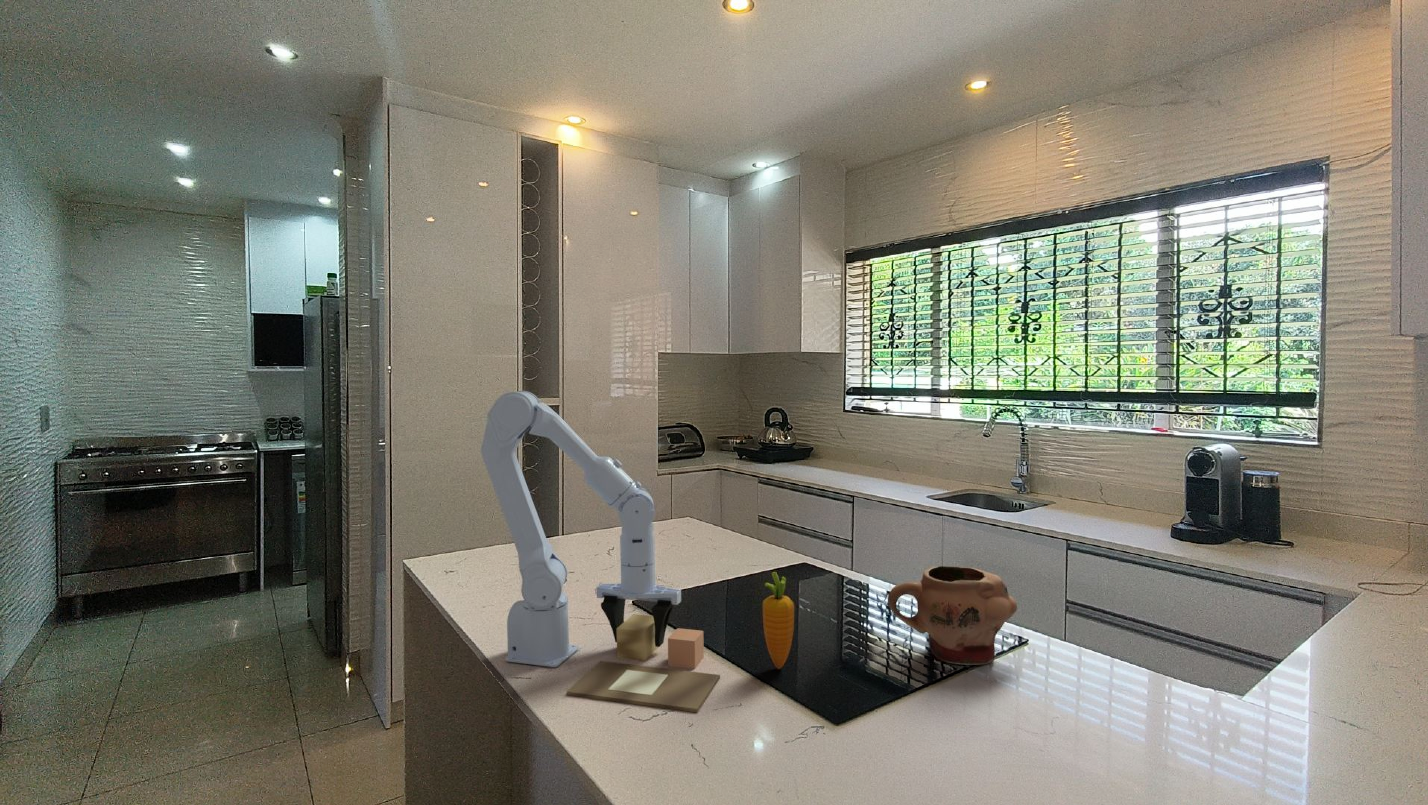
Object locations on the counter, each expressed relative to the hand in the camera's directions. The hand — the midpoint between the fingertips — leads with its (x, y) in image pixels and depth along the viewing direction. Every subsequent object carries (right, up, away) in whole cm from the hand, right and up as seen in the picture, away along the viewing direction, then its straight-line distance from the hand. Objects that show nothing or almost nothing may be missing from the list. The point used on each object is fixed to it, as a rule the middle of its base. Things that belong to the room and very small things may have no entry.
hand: (639, 642), depth 115 cm
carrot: (+23, -2, -8) cm, 24 cm away
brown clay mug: (+51, -1, -4) cm, 51 cm away
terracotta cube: (+8, -2, -4) cm, 9 cm away
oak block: (0, -2, 0) cm, 2 cm away
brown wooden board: (+2, -2, -13) cm, 13 cm away
